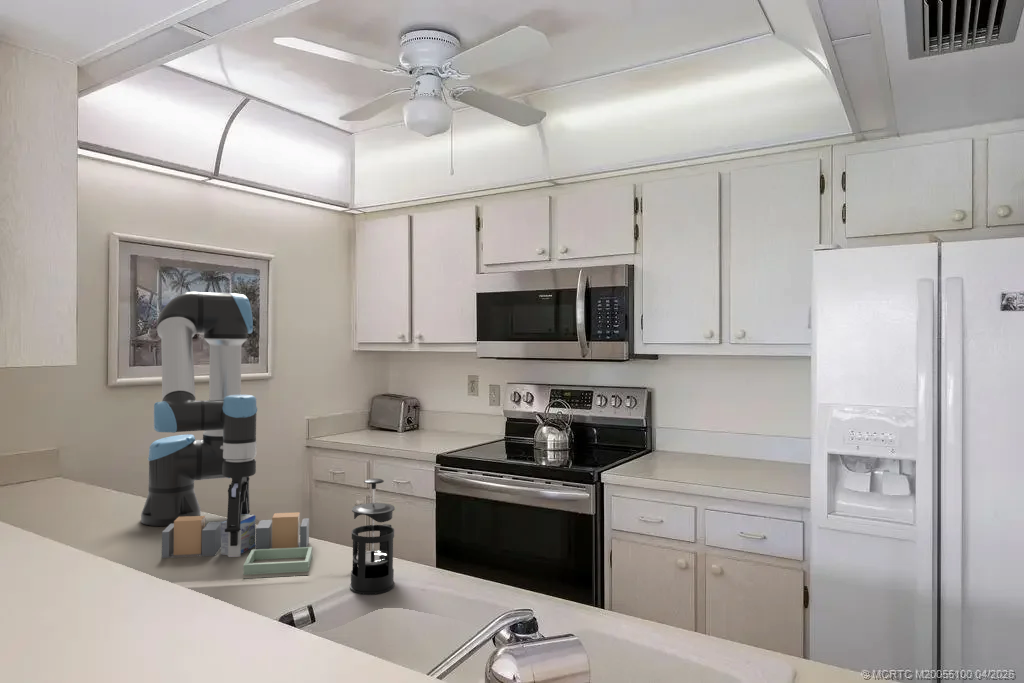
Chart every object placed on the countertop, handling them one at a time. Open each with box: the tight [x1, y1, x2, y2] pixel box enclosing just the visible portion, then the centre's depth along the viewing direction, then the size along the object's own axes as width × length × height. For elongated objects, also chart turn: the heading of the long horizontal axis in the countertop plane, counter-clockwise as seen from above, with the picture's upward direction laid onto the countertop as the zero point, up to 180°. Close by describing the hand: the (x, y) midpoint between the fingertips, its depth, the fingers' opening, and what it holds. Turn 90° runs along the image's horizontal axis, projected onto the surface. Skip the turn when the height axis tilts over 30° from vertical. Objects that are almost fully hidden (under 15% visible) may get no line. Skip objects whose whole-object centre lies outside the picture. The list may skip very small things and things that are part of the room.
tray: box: [242, 546, 313, 580], centre depth 155 cm, size 11×14×3 cm
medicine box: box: [220, 513, 257, 556], centre depth 165 cm, size 8×4×9 cm, turn 168°
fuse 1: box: [174, 515, 206, 555], centre depth 162 cm, size 4×6×8 cm, turn 102°
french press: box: [349, 478, 396, 596], centre depth 146 cm, size 12×9×23 cm
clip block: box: [161, 517, 310, 559], centre depth 165 cm, size 7×32×7 cm, turn 102°
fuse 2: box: [271, 511, 301, 549], centre depth 167 cm, size 4×6×8 cm, turn 102°
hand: (238, 551), depth 165 cm, fingers closed on medicine box, 9 cm apart
